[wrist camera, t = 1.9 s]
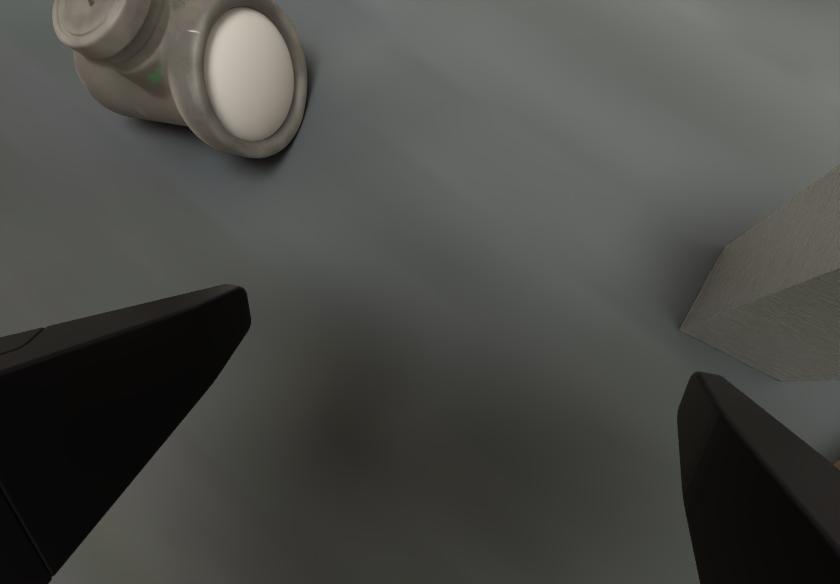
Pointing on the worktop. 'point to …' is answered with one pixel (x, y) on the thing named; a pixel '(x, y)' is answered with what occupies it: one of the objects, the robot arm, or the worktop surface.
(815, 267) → the grey rectangular block
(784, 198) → the worktop surface
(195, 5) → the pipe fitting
